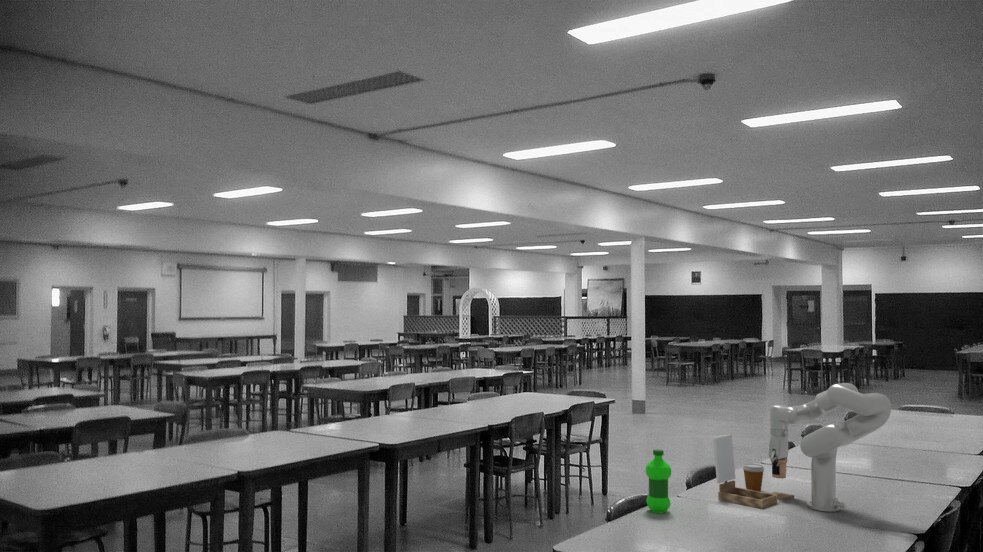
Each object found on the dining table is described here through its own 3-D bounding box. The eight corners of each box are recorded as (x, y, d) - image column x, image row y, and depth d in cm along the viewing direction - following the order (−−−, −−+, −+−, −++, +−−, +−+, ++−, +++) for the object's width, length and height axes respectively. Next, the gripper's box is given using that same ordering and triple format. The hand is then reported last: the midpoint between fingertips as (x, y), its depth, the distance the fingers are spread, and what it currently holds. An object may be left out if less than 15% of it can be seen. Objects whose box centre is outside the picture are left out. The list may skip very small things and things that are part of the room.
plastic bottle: (669, 508, 312) (668, 448, 313) (672, 515, 302) (672, 453, 303) (644, 507, 313) (644, 447, 314) (647, 514, 303) (647, 452, 304)
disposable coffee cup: (766, 494, 337) (765, 468, 338) (744, 493, 339) (743, 466, 340) (762, 489, 346) (762, 463, 347) (741, 488, 348) (741, 462, 349)
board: (794, 498, 330) (794, 495, 330) (785, 502, 324) (785, 498, 324) (774, 494, 337) (774, 491, 337) (765, 498, 331) (765, 494, 331)
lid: (731, 434, 337) (729, 434, 338) (714, 437, 327) (713, 437, 328) (735, 478, 335) (733, 478, 336) (718, 483, 325) (716, 483, 325)
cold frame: (777, 504, 320) (776, 457, 321) (761, 510, 310) (761, 461, 311) (729, 494, 336) (729, 450, 337) (713, 500, 327) (713, 454, 328)
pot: (775, 474, 336) (775, 456, 336) (789, 477, 331) (789, 458, 331) (768, 476, 331) (768, 458, 332) (783, 479, 326) (783, 460, 327)
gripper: (779, 429, 341) (779, 469, 340) (762, 433, 329) (762, 474, 328) (796, 431, 335) (796, 472, 335) (778, 436, 323) (778, 477, 323)
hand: (779, 473), depth 331 cm, fingers closed on pot, 5 cm apart
